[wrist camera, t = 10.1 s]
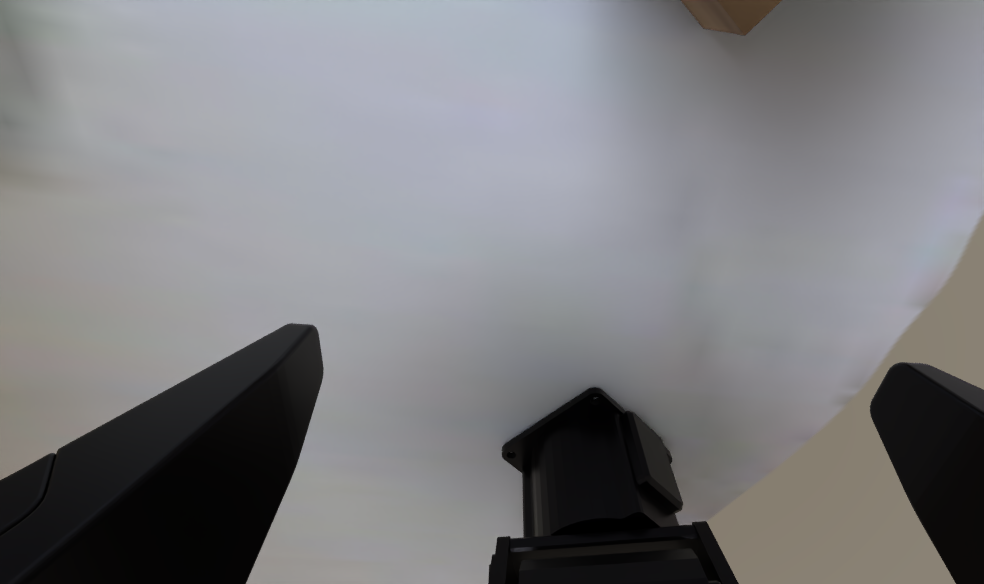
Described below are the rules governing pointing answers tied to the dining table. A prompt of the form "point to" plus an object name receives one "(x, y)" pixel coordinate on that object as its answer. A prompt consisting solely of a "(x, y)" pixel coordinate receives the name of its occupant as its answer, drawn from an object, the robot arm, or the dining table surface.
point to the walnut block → (730, 13)
